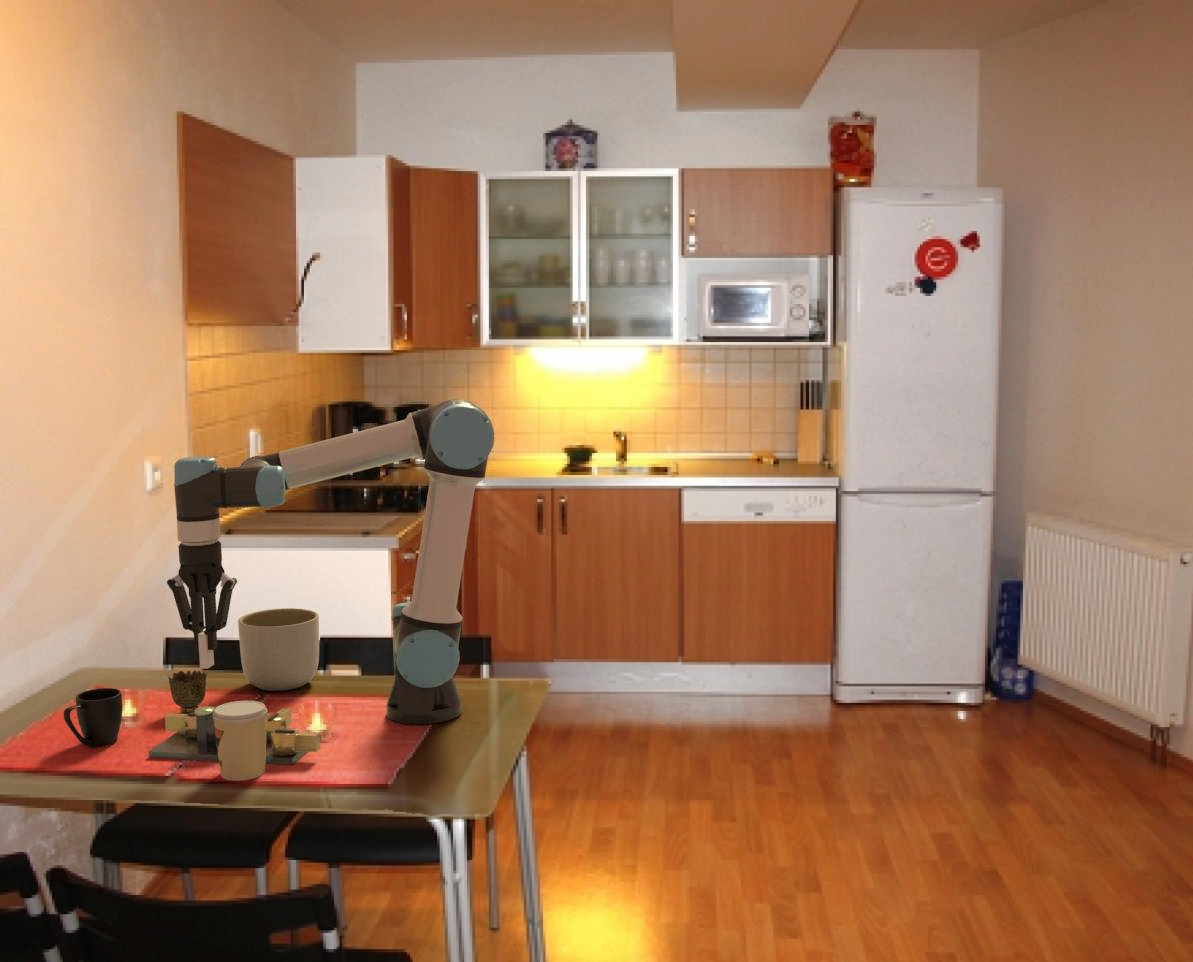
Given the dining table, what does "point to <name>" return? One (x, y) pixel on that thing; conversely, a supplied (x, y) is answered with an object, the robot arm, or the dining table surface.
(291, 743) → the knob
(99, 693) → the mug
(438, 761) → the dining table surface
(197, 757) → the plate
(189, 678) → the cup
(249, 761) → the coffee cup
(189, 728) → the knob
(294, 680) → the planter
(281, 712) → the knob
